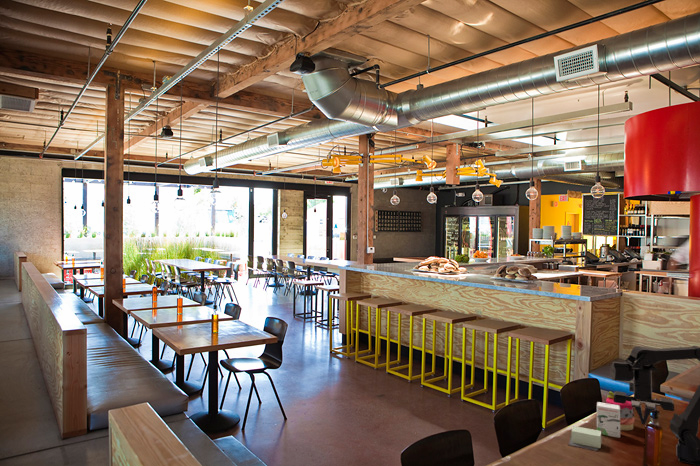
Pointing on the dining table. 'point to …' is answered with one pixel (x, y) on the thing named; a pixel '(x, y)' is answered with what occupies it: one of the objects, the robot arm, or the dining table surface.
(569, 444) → the bar mat
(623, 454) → the dining table surface
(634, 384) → the robot arm
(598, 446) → the block
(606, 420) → the ink box
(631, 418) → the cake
